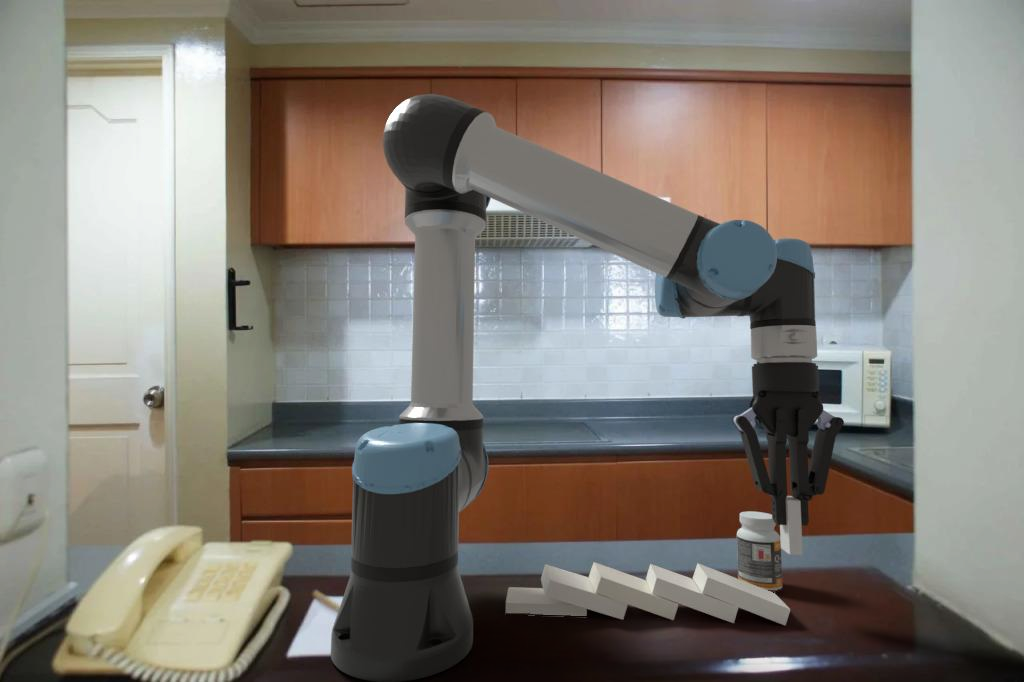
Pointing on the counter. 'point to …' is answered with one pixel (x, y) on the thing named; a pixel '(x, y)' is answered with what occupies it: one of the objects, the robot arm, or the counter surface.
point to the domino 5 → (741, 594)
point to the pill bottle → (759, 551)
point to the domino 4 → (687, 593)
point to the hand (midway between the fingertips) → (791, 551)
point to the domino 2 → (578, 592)
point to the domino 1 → (538, 603)
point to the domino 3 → (630, 591)
